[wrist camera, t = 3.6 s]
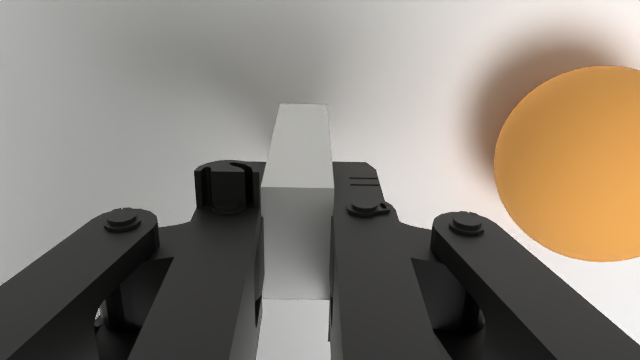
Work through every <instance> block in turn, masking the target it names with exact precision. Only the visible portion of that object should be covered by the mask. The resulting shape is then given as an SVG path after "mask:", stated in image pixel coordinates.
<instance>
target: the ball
mask: <svg viewBox="0 0 640 360" xmlns="http://www.w3.org/2000/svg"><path fill="white" fill-rule="evenodd" d="M494 176H495V181H496V186H497V190H498V193H499V196H500V199H501V201H502V203H503V205H504V207H505V208H506V210H507V212H508V214H509V215H510V217H511V218H512V219H513V221H514V222H515V223H516V224H517V225H518V226H519V227H520V229H521V230H523V231H524V232H525V233H526V234H527V235H528V236H529V237H530V238H532V239H533V240H535V241H536V242H538V243H539V244H541V245H542V246H544V247H545V248H547V249H549V250H551V251H553V252H556V253H558V254H561V255H564V256H567V257H570V258H574V259H579V260H585V261H593V262H613V261H622V260H629V259H632V258H636V257H640V70H636V69H632V68H628V67H621V66H591V67H585V68H579V69H576V70H572V71H569V72H566V73H562V74H560V75H558V76H555V77H553V78H551V79H549V80H547V81H546V82H544V83H542V84H540V85H539V86H538V87H536V88H535V89H533V90H532V91H531V92H530V93H528V94H527V95H526V96H525V97H524V98H523V99H522V100H521V101H520V102H519V103H518V104H517V106H516V107H515V108H514V109H513V111H512V112H511V113H510V115H509V116H508V118H507V119H506V121H505V123H504V125H503V127H502V129H501V132H500V134H499V137H498V140H497V144H496V148H495V157H494Z"/></svg>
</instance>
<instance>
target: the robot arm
mask: <svg viewBox="0 0 640 360" xmlns="http://www.w3.org/2000/svg"><path fill="white" fill-rule="evenodd" d="M194 177H195V191H196V204H197V208H196V210H195V212H194V215H193V217H192V219H191V221H190V222H187V223H184V224H179V225H174V226H167V227H160V228H158V223H157V217H156V215H155V214H153V213H152V212H150V211H147V210H143V209H132V208H123V209H121V208H119V209H114V210H112V211H110V212H107V213H104V214H101V215H99V216H97V217H96V218H94V219H92V220H91V221H89V222H88V223H87V224H85V225H84V226H82V227H81V228H80V229H78V230H77V231H76V232H74V233H73V234H71V235H70V236H69V237H67V238H66V239H65V240H63V241H62V242H60V243H59V244H58V245H56V246H55V247H53V248H52V249H51V250H49V251H48V252H47V253H45V254H44V255H42V256H41V257H40V258H38V259H37V260H36V261H34V262H33V263H31V264H30V265H29V266H27V267H26V268H25V269H23V270H22V271H20V272H19V273H18V274H16V275H15V276H14V277H12V278H11V279H9V280H8V281H7V282H5V283H4V284H3V285H1V286H0V360H256V353H257V346H258V339H259V332H260V325H261V318H262V288H263V299H320V300H330V306H329V333H328V341H330V346H331V360H640V345H639V344H638V343H636V342H635V341H634V340H633V339H632V338H630V337H629V336H628V335H627V334H626V333H625V332H623V331H622V330H621V329H620V328H619V327H617V326H616V325H615V324H614V323H613V322H612V321H610V320H609V319H608V318H607V317H606V316H605V315H603V314H602V313H601V312H600V311H599V310H597V309H596V308H595V307H594V306H593V305H592V304H590V303H589V302H588V301H587V300H586V299H584V298H583V297H582V296H581V295H580V294H579V293H577V292H576V291H575V290H574V289H573V288H571V287H570V286H569V285H568V284H567V283H566V282H564V281H563V280H562V279H561V278H560V277H559V276H557V275H556V274H555V273H554V272H553V271H551V270H550V269H549V268H548V267H547V266H546V265H544V264H543V263H542V262H541V261H540V260H538V259H537V258H536V257H535V256H534V255H533V254H531V253H530V252H529V251H528V250H527V249H525V248H524V247H523V246H522V245H521V244H520V243H518V242H517V241H516V240H515V239H514V238H513V237H511V236H510V235H509V234H508V233H507V232H505V231H504V230H503V229H502V228H501V227H500V226H498V225H497V224H496V223H494V222H493V221H491V220H489V219H488V218H485V217H482V216H479V215H478V214H476V213H472V212H469V213H468V212H465V211H460V212H449V213H445V214H441V215H439V216H438V217H436V218H435V219H434V221H433V226H432V230H429V229H424V228H418V227H414V226H410V225H407V224H404V223H401V222H399V220H398V216H397V213H396V210H395V209H394V208H393V206H392V205H391V204H389V203H387V202H385V200H384V197H383V193H382V190H381V186H380V183H379V179H378V176H377V172H376V169H374V168H373V167H372V166H370V165H369V164H368V163H366V162H332V155H331V144H330V132H329V120H328V109H327V104H285V103H280V105H279V109H278V114H277V118H276V122H275V127H274V131H273V135H272V140H271V144H270V149H269V153H268V157H267V162H244V161H236V160H222V161H215V162H210V163H206V164H204V165H201V166H199V167H198V168H197V169H196V170H195V171H194ZM98 308H100V314H101V315H100V316H99V317H98V318H97V319H96V320H95V317H96V314H97V311H98Z"/></svg>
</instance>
